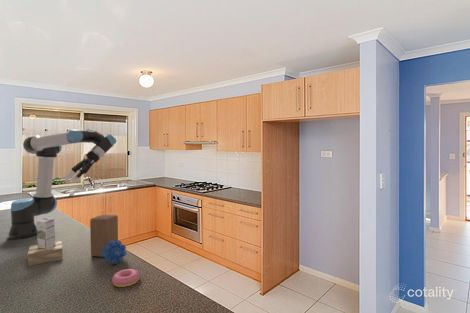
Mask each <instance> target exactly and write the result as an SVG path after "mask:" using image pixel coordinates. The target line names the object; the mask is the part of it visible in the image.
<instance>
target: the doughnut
mask: <svg viewBox="0 0 470 313" xmlns="http://www.w3.org/2000/svg"><path fill="white" fill-rule="evenodd" d="M140 275H141V274H140V271H138V270H137V269H133V268H125V269H121V270H119V271H117V272H115V273H114V274H113V276H112V279H111V281H112V282H111V283H112V285H113V286H115V287H117V288H126V287H127V286H128V287H131V286H133V285H134V284H136V283H138V281H139V279H140Z"/></svg>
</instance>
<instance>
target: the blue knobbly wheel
mask: <svg viewBox="0 0 470 313" xmlns="http://www.w3.org/2000/svg"><path fill="white" fill-rule="evenodd" d="M103 248H104V250H105V251H103V252H102V256H103V257H102V258H104V262H106V263H111V264H112V265H116V264H117V263H122V262H123V261H124V257H125V256H127V251H126V249H127V247H126V245H125V244H122V241H121V240H118V241H116V242H115V241H110V242H109V245H107V244H106V245H104V247H103Z"/></svg>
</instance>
